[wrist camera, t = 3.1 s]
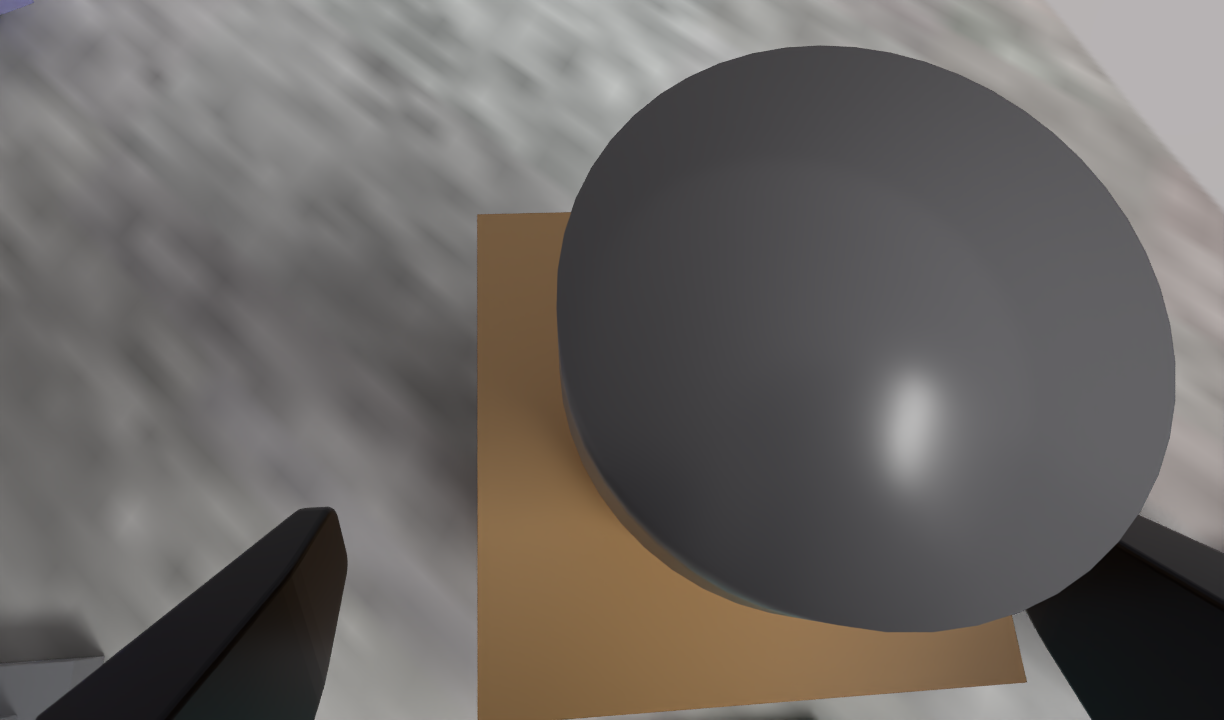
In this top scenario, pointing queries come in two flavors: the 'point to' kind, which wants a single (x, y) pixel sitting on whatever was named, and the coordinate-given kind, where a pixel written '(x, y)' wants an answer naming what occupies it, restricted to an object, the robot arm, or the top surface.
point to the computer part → (12, 5)
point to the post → (39, 684)
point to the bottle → (805, 395)
